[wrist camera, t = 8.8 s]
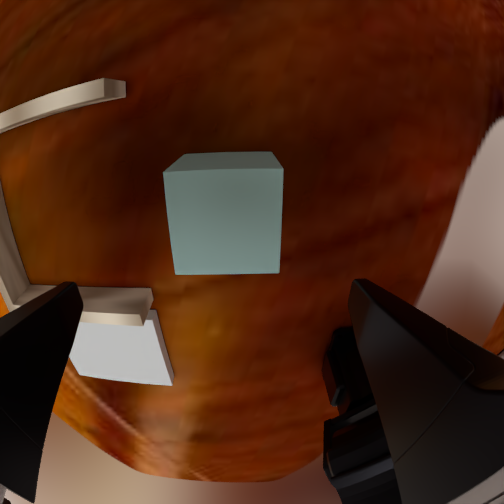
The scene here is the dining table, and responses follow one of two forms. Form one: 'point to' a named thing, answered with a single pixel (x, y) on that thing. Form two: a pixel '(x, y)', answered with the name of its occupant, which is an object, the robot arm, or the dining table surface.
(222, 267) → the cube
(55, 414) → the dining table surface
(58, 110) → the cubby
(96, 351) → the ceramic tile
